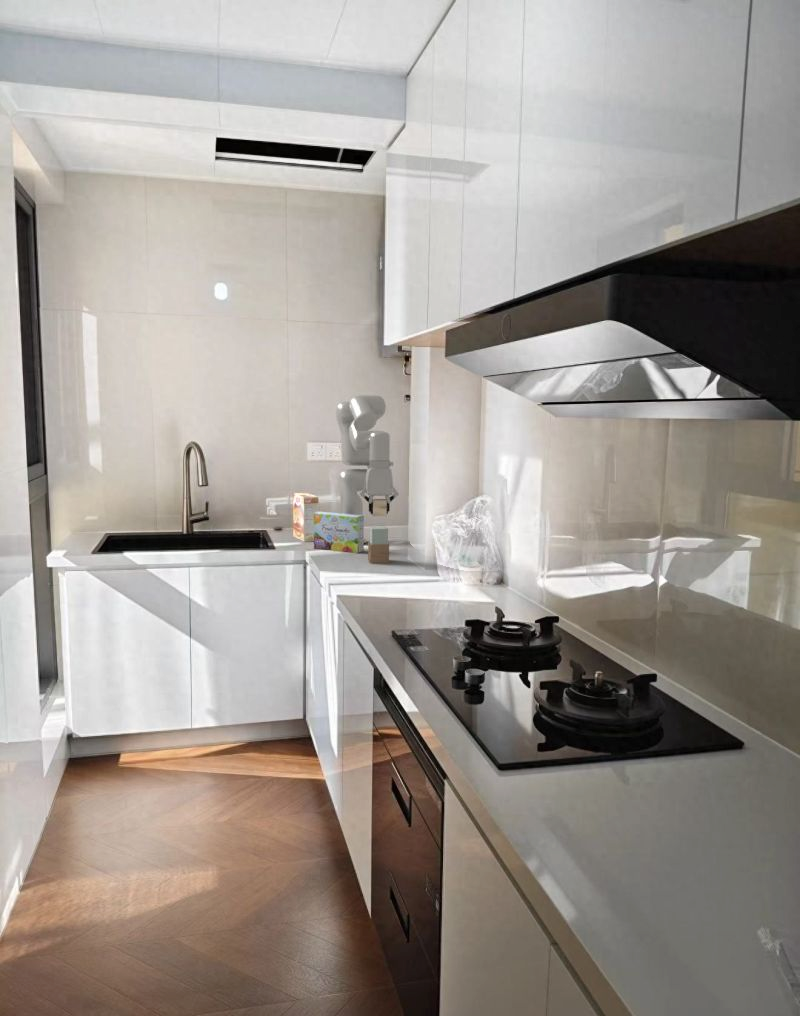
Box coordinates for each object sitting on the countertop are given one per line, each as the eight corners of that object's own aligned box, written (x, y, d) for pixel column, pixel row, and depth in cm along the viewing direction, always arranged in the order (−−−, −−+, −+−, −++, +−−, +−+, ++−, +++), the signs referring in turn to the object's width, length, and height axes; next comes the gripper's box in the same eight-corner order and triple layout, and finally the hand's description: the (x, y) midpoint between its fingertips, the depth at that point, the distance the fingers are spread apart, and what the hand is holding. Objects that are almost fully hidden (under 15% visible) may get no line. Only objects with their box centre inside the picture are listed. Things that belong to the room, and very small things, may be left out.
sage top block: (369, 542, 318) (370, 526, 317) (385, 542, 319) (385, 526, 318) (371, 544, 312) (372, 529, 311) (387, 544, 313) (388, 528, 312)
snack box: (312, 548, 342) (312, 512, 340) (320, 546, 347) (320, 510, 345) (357, 553, 332) (357, 516, 330) (364, 551, 337) (364, 514, 335)
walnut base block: (368, 560, 319) (368, 542, 318) (386, 559, 320) (386, 541, 319) (370, 563, 312) (370, 545, 311) (388, 563, 313) (389, 544, 312)
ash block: (371, 514, 316) (371, 498, 315) (384, 514, 316) (384, 498, 316) (373, 516, 311) (373, 500, 310) (386, 516, 312) (386, 500, 311)
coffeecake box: (292, 536, 371) (292, 493, 369) (307, 536, 374) (307, 492, 372) (303, 542, 358) (303, 496, 355) (319, 541, 361) (319, 496, 358)
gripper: (400, 464, 316) (399, 512, 319) (355, 464, 314) (355, 512, 316) (403, 465, 309) (403, 514, 311) (357, 465, 306) (357, 515, 309)
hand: (379, 513), depth 314 cm, fingers closed on ash block, 4 cm apart
